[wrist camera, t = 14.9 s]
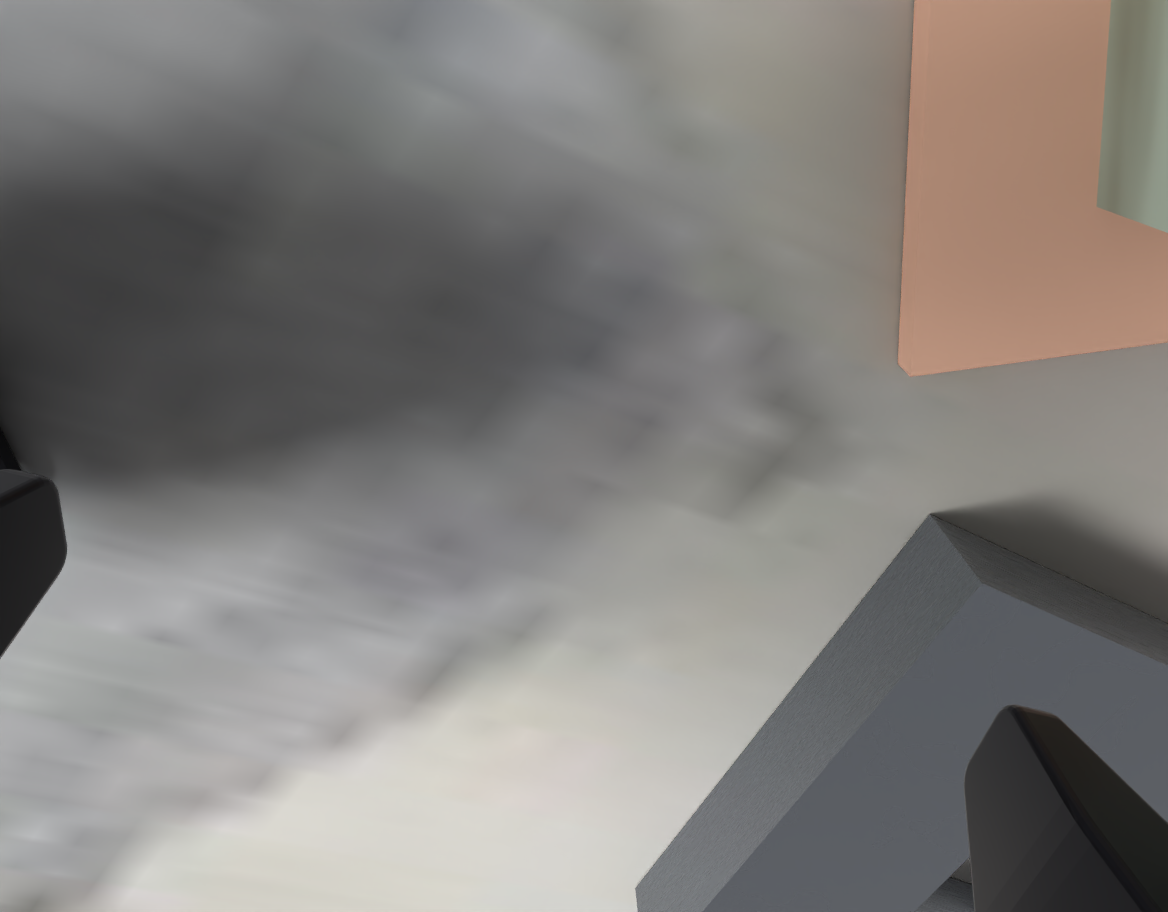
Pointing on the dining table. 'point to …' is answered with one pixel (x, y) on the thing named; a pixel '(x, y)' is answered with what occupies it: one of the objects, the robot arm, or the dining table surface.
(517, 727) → the dining table surface
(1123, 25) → the square plug
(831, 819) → the socket plate
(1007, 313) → the terracotta pad
